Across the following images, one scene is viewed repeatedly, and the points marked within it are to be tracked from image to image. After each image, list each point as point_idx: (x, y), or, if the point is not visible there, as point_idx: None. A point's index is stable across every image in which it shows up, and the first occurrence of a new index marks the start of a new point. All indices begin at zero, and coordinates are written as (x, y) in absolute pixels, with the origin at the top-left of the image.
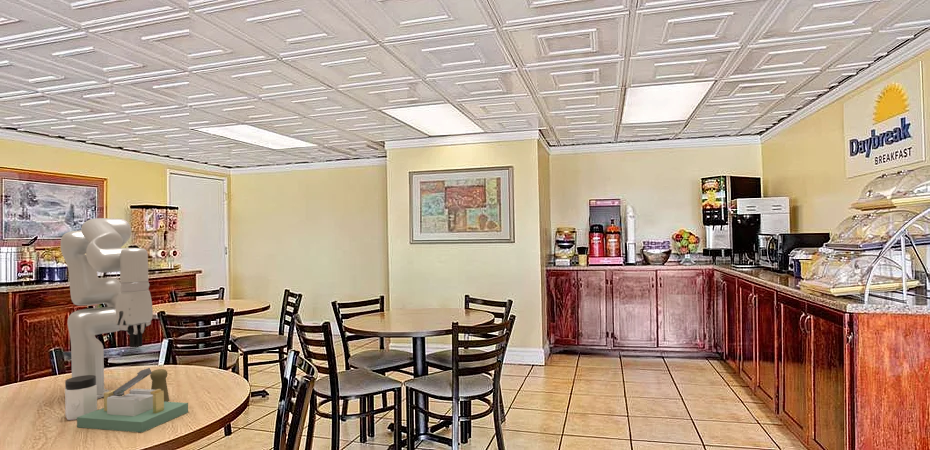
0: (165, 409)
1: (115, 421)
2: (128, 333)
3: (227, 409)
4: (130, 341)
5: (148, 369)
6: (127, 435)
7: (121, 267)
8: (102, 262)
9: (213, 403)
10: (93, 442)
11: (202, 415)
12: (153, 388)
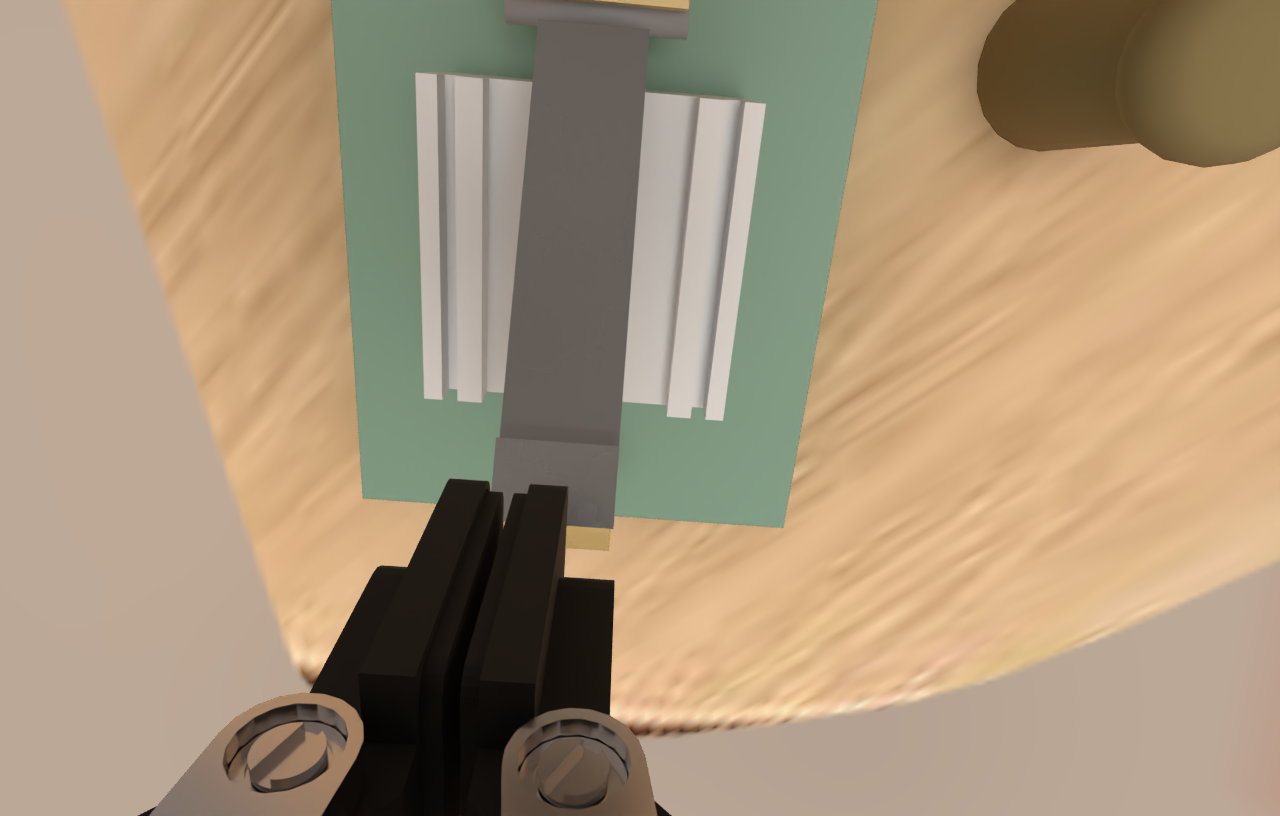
0: (628, 470)
1: (352, 275)
2: (230, 762)
3: (833, 682)
4: (358, 618)
5: (589, 525)
6: (322, 412)
7: None
8: None
9: (964, 538)
10: (163, 289)
11: (717, 611)
12: (1069, 54)
